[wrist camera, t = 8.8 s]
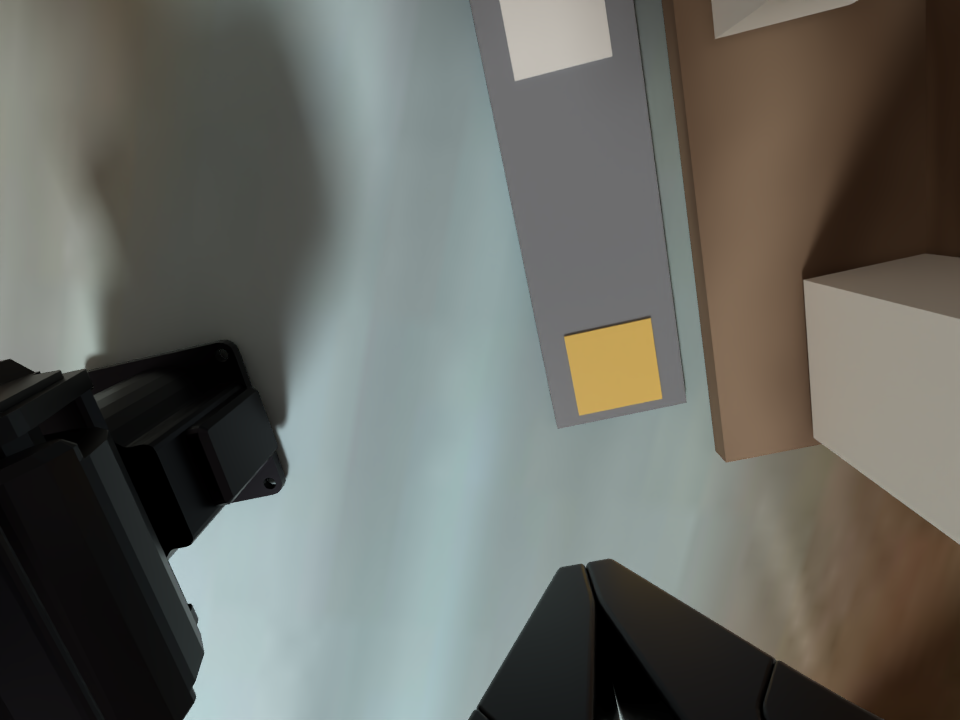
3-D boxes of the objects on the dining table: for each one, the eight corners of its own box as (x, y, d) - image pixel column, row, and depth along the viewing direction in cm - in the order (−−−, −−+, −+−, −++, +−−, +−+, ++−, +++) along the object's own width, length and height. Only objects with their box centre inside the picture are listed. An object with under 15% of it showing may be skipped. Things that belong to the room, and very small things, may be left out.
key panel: (715, 450, 22) (893, 647, 12) (640, -180, 16) (861, -742, 7) (962, 402, 21) (1360, 571, 11) (975, -277, 15) (1783, -1074, 6)
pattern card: (556, 424, 22) (558, 429, 21) (463, -31, 17) (462, -38, 17) (682, 398, 21) (687, 403, 21) (619, -74, 17) (623, -82, 16)
